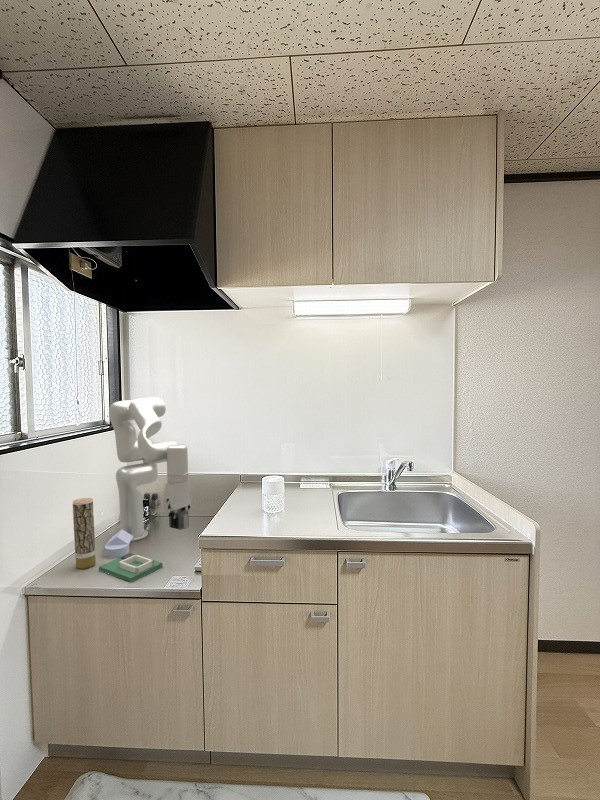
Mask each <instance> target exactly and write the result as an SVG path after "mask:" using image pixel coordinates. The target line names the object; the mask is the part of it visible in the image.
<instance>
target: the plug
mask: <svg viewBox="0 0 600 800" xmlns="http://www.w3.org/2000/svg"><path fill="white" fill-rule="evenodd" d="M173 514H174V511H173ZM189 516H190V515H189V513H188V511H187V510H182V509H178V510H177V517H176V518H178V528H177V529H176V530H179V531H181V530H187V529H189V527H190V524H189V523H190V519H189ZM168 524H169V528H171V518H170V517H169V516H168Z"/></svg>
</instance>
